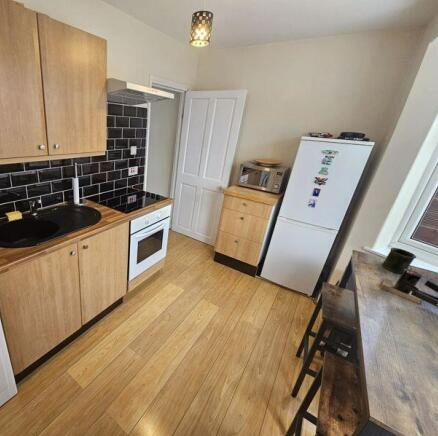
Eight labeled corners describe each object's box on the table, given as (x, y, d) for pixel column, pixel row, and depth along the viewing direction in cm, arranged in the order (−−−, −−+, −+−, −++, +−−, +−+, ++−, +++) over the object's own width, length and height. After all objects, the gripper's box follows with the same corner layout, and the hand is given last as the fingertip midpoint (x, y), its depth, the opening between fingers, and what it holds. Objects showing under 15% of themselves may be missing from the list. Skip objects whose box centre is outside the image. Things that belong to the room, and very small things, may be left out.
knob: (399, 283, 122) (409, 268, 117) (413, 291, 116) (425, 275, 112) (391, 285, 120) (402, 269, 116) (406, 293, 115) (417, 276, 110)
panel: (419, 297, 118) (422, 292, 116) (418, 305, 112) (421, 300, 110) (383, 282, 127) (385, 277, 126) (380, 289, 121) (383, 284, 120)
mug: (380, 268, 140) (391, 251, 135) (380, 259, 150) (390, 244, 145) (405, 277, 134) (417, 260, 129) (404, 267, 143) (414, 251, 139)
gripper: (438, 322, 95) (387, 287, 114) (491, 323, 97) (432, 288, 116) (449, 308, 92) (395, 275, 111) (504, 310, 94) (441, 277, 113)
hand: (414, 282), depth 114 cm, fingers open, 13 cm apart
